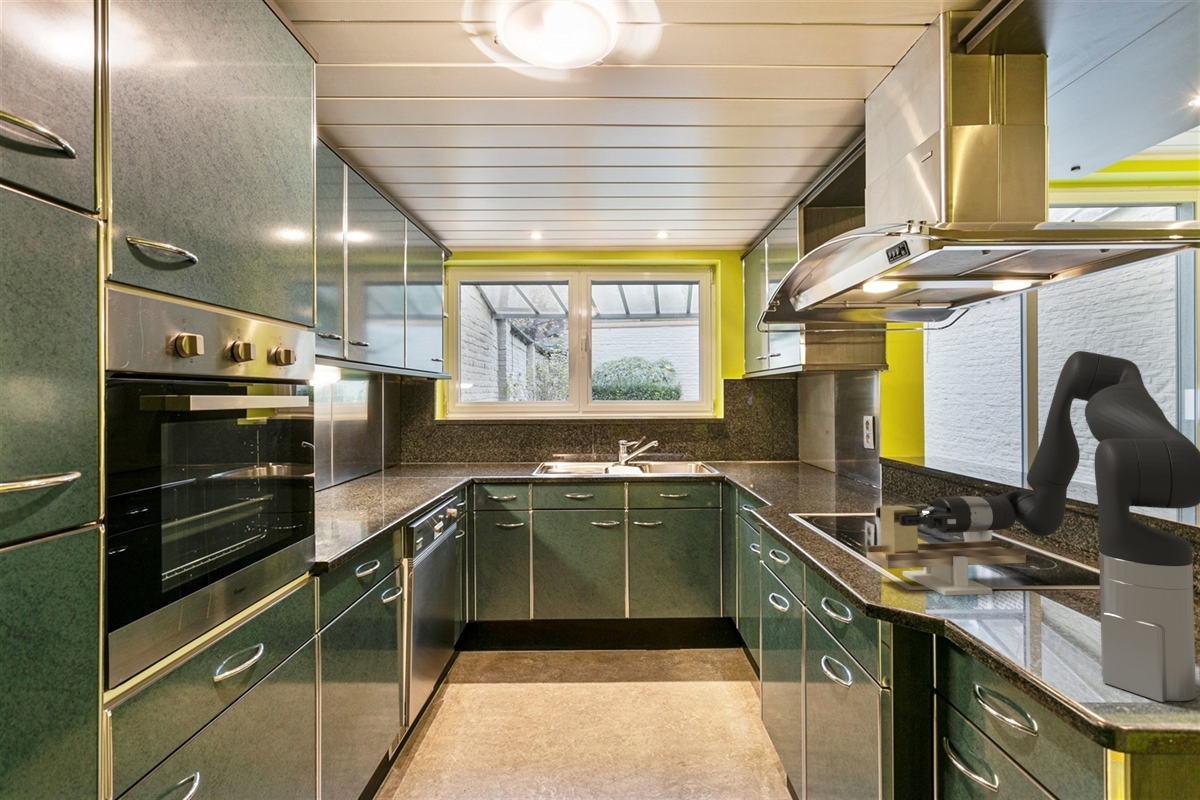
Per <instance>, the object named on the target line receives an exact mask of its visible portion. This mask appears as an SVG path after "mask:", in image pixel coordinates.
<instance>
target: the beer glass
mask: <svg viewBox="0 0 1200 800" xmlns="http://www.w3.org/2000/svg"><path fill="white" fill-rule="evenodd" d="M970 497H974V496H971V495H970ZM993 531H994V530H985V531H978V532H962V533H963V538H964V542H967V541H990V540H992V537H993Z"/></svg>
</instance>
